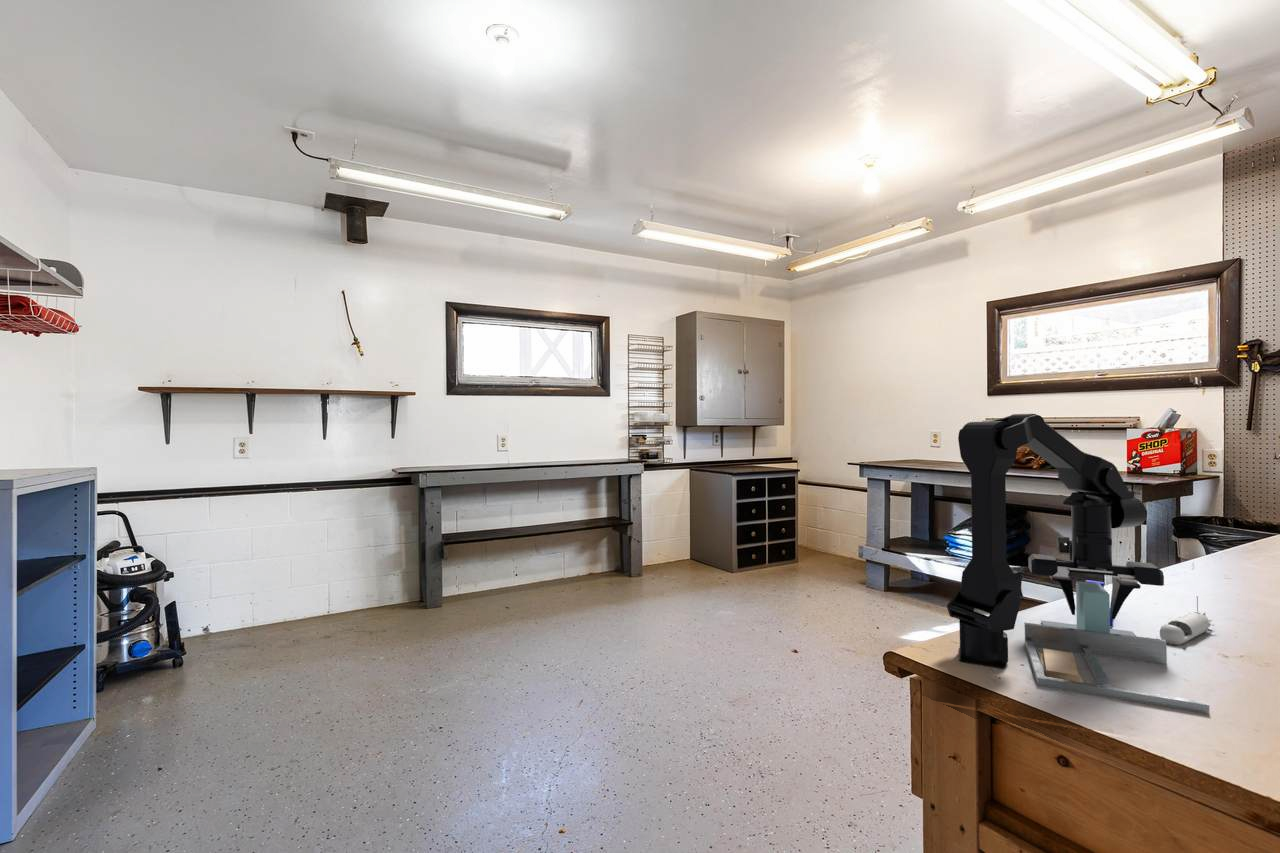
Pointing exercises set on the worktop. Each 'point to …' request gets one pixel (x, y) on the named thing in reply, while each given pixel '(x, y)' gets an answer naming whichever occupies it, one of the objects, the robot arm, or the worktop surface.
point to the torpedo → (1185, 627)
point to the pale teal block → (1092, 607)
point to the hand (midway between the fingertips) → (1092, 616)
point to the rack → (1100, 646)
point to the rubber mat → (1076, 627)
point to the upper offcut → (1060, 665)
